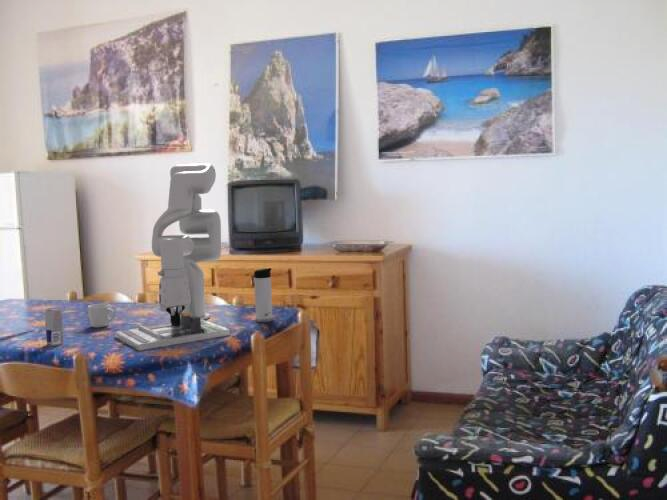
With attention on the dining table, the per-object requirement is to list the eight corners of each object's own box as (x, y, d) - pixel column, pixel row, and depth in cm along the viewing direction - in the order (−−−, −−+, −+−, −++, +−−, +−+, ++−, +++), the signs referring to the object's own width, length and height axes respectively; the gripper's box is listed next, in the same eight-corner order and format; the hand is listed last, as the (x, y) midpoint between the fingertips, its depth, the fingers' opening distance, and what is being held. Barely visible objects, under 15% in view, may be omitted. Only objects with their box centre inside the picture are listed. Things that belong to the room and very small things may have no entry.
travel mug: (270, 322, 254) (268, 269, 251) (253, 322, 255) (251, 269, 253) (275, 319, 260) (273, 267, 257) (258, 318, 261) (256, 267, 259)
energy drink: (49, 342, 231) (47, 308, 230) (66, 341, 232) (63, 307, 231) (44, 346, 226) (42, 311, 225) (61, 345, 227) (58, 310, 225)
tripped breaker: (181, 327, 239) (180, 313, 238) (187, 326, 240) (186, 312, 240) (184, 328, 236) (183, 314, 236) (191, 327, 238) (190, 313, 237)
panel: (115, 337, 236) (114, 316, 236) (201, 324, 254) (200, 304, 254) (138, 350, 217) (137, 328, 216) (229, 335, 235) (228, 314, 234)
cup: (121, 324, 258) (120, 304, 257) (108, 329, 250) (106, 308, 249) (98, 323, 261) (96, 303, 260) (84, 328, 254) (82, 307, 253)
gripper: (155, 276, 227) (158, 330, 229) (197, 272, 235) (200, 324, 237) (148, 274, 233) (151, 327, 235) (189, 270, 241) (191, 320, 243)
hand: (175, 325), depth 236 cm, fingers closed
